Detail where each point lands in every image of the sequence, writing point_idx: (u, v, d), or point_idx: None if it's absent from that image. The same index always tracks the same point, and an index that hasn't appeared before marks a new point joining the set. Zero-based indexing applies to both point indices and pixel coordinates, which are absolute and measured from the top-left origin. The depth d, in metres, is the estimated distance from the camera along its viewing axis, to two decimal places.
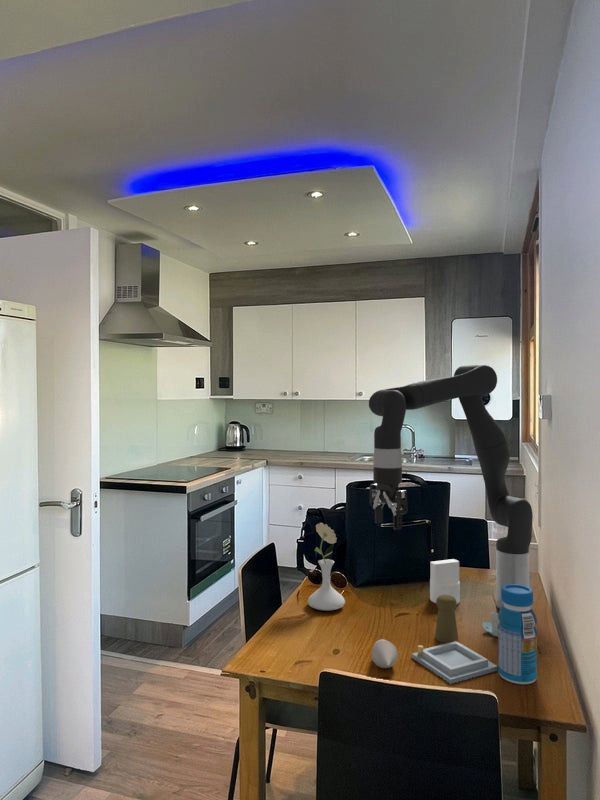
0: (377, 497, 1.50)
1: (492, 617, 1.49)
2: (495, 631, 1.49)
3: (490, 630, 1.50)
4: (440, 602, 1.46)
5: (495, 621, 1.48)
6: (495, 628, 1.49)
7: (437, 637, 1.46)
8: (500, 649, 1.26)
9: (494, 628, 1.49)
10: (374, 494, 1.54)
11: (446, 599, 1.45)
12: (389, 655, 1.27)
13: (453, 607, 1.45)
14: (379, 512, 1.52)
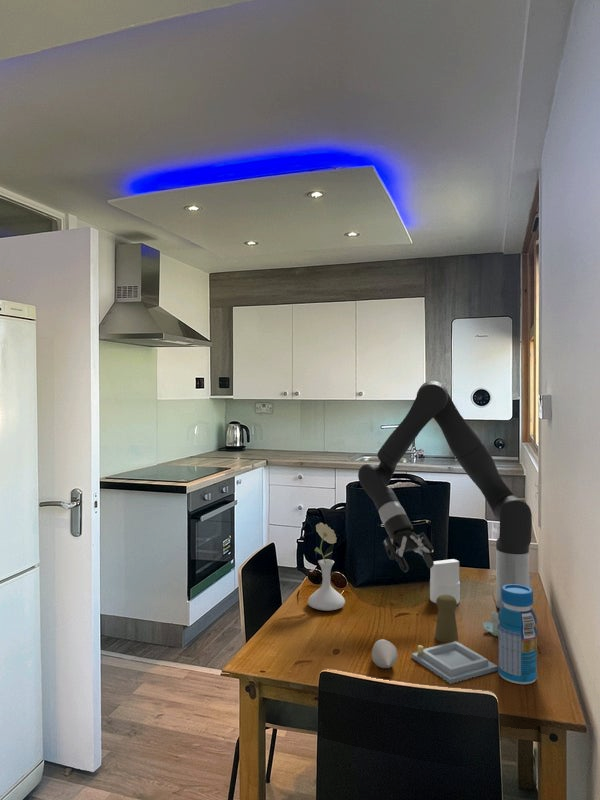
0: None
1: (493, 617, 1.49)
2: (496, 631, 1.49)
3: (491, 630, 1.50)
4: (440, 602, 1.46)
5: (496, 621, 1.48)
6: (496, 628, 1.49)
7: (437, 637, 1.46)
8: (500, 649, 1.26)
9: (495, 628, 1.49)
10: (423, 543, 1.65)
11: (446, 599, 1.45)
12: (389, 655, 1.27)
13: (453, 607, 1.45)
14: (425, 558, 1.61)
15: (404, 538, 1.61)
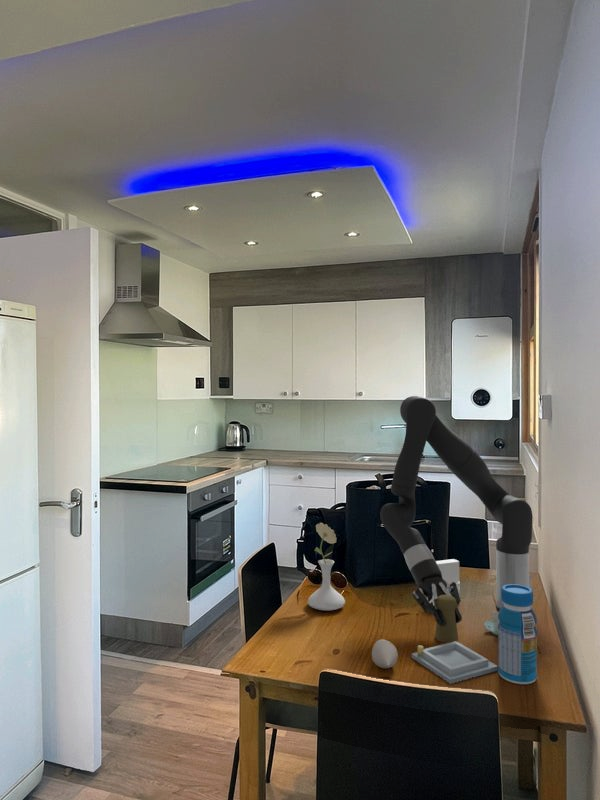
0: None
1: (494, 616, 1.49)
2: (497, 630, 1.49)
3: (492, 629, 1.50)
4: (440, 602, 1.46)
5: (497, 620, 1.49)
6: (497, 627, 1.49)
7: (437, 637, 1.46)
8: (500, 649, 1.26)
9: (496, 627, 1.49)
10: (451, 594, 1.53)
11: (446, 599, 1.45)
12: (389, 655, 1.27)
13: (453, 607, 1.45)
14: None
15: (433, 586, 1.50)
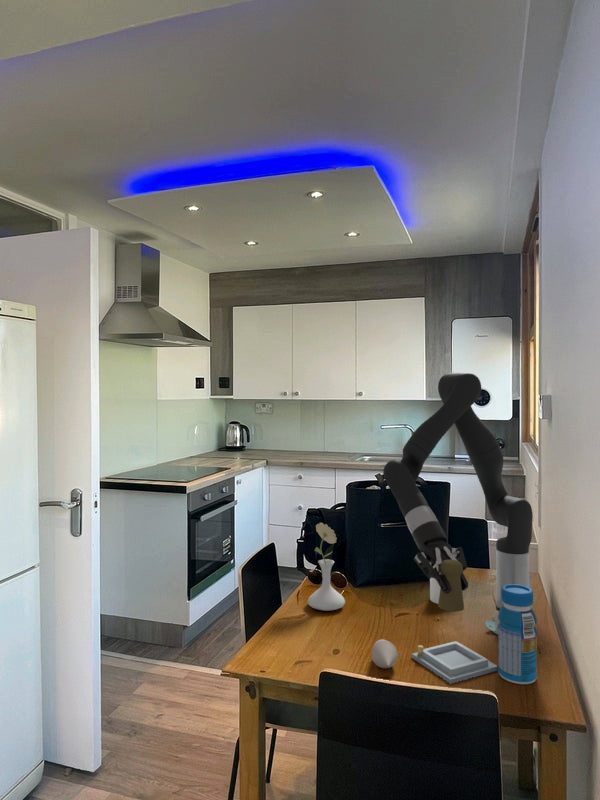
0: None
1: (495, 616, 1.49)
2: None
3: (493, 629, 1.50)
4: (445, 566, 1.32)
5: (498, 620, 1.49)
6: None
7: (441, 605, 1.32)
8: (500, 649, 1.26)
9: (497, 627, 1.50)
10: (457, 559, 1.39)
11: (451, 563, 1.31)
12: (389, 655, 1.27)
13: (459, 572, 1.31)
14: None
15: (437, 550, 1.36)
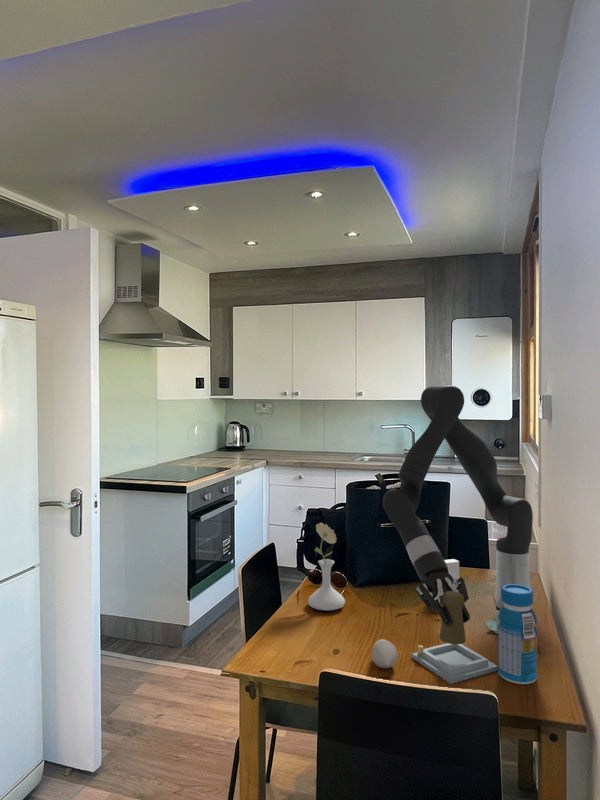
0: None
1: (496, 615, 1.50)
2: None
3: (494, 628, 1.51)
4: (447, 599, 1.31)
5: None
6: None
7: (442, 637, 1.32)
8: (500, 649, 1.26)
9: None
10: (458, 590, 1.38)
11: (453, 596, 1.31)
12: (389, 655, 1.27)
13: (461, 604, 1.31)
14: None
15: (438, 581, 1.35)
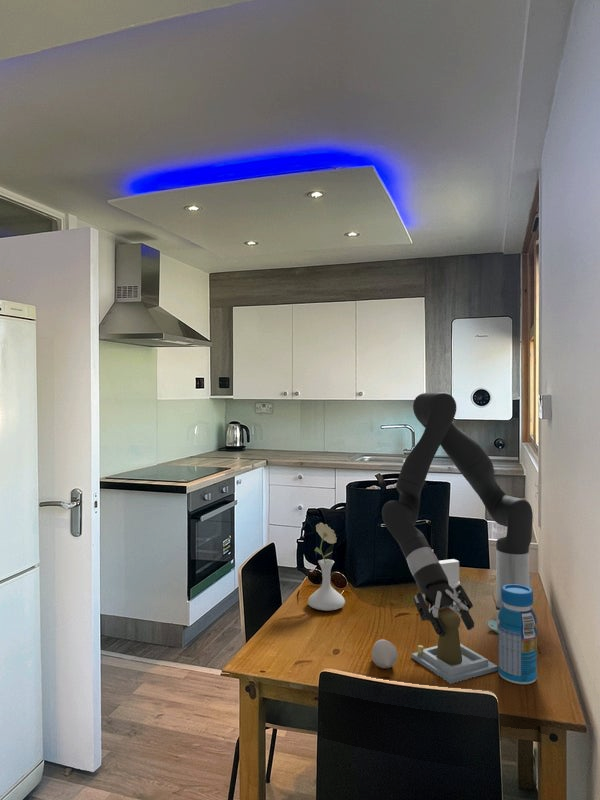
0: None
1: (497, 615, 1.50)
2: None
3: (495, 628, 1.51)
4: (442, 619, 1.32)
5: None
6: None
7: (439, 658, 1.32)
8: (500, 649, 1.26)
9: None
10: (460, 598, 1.39)
11: (448, 616, 1.31)
12: (389, 655, 1.27)
13: (456, 625, 1.31)
14: (464, 617, 1.35)
15: (438, 593, 1.35)
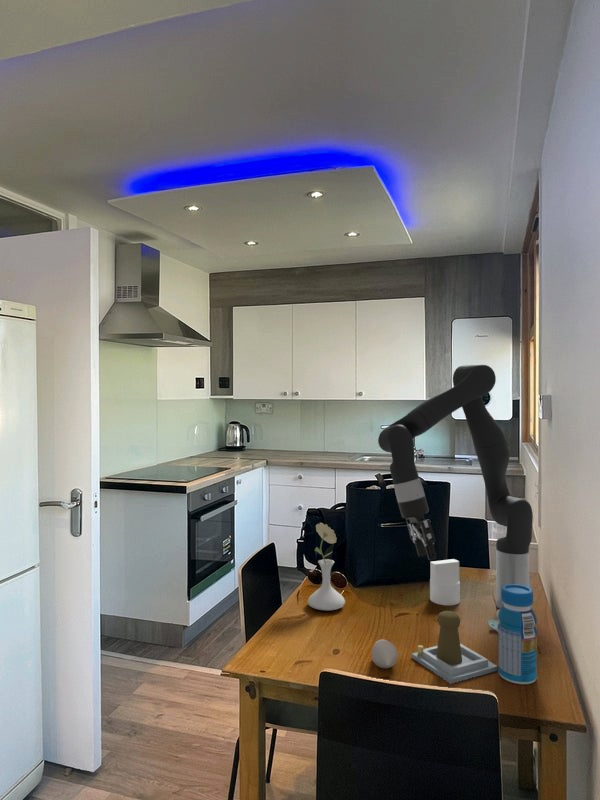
0: (411, 531, 1.52)
1: None
2: None
3: (496, 627, 1.51)
4: (442, 619, 1.32)
5: None
6: None
7: (439, 658, 1.32)
8: (500, 649, 1.26)
9: None
10: None
11: (448, 616, 1.32)
12: (389, 655, 1.27)
13: (456, 625, 1.31)
14: (420, 545, 1.53)
15: None
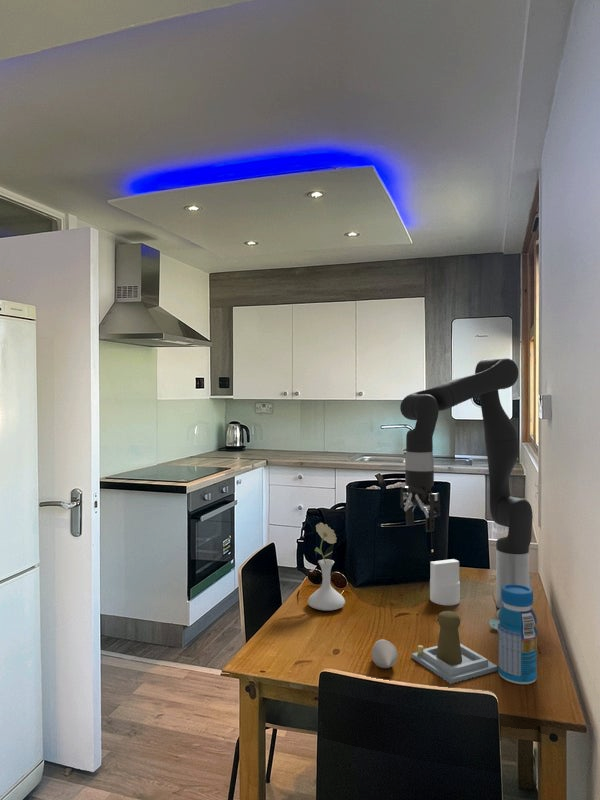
0: (409, 500, 1.52)
1: None
2: None
3: (497, 627, 1.51)
4: (442, 619, 1.32)
5: None
6: None
7: (439, 658, 1.32)
8: (500, 649, 1.26)
9: None
10: (405, 497, 1.56)
11: (448, 616, 1.32)
12: (389, 655, 1.27)
13: (456, 625, 1.31)
14: (410, 514, 1.54)
15: None
